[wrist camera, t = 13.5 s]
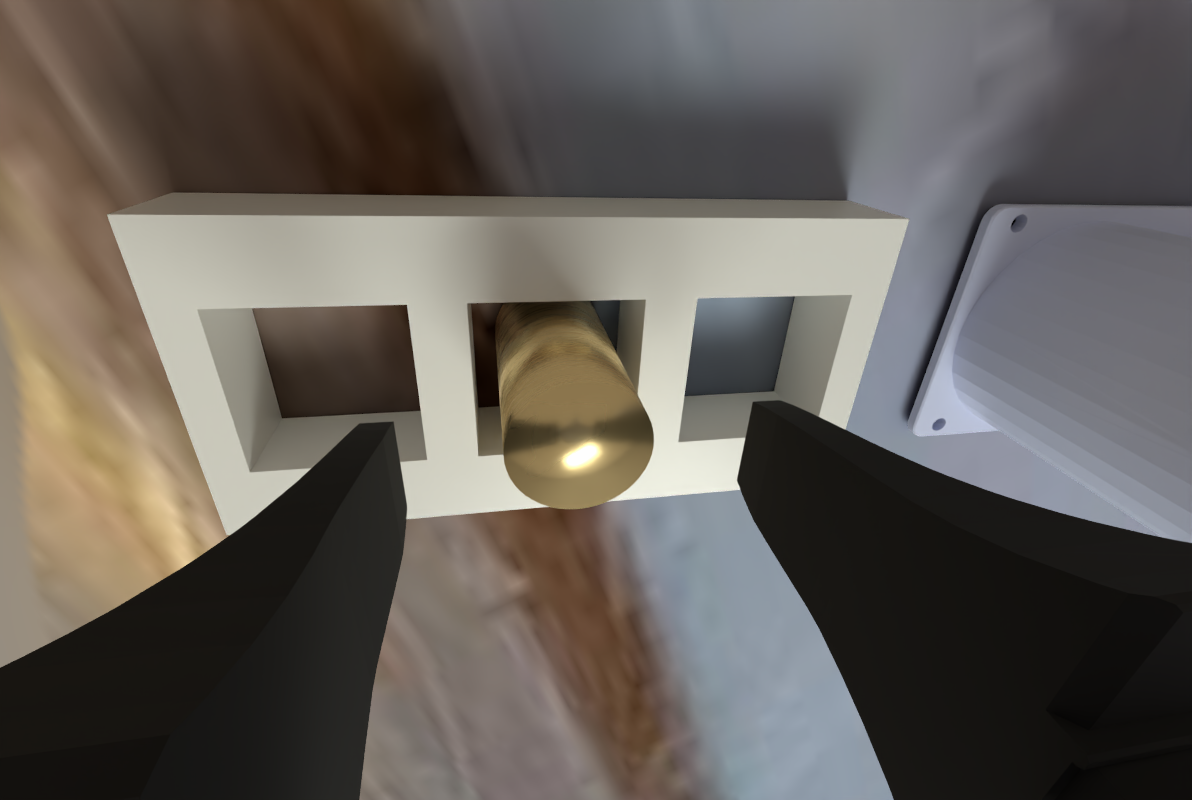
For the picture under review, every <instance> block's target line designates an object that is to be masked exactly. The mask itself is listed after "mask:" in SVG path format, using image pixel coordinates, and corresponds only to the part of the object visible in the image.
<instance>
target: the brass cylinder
mask: <svg viewBox="0 0 1192 800" xmlns="http://www.w3.org/2000/svg"><path fill="white" fill-rule="evenodd" d="M495 341H496V355H497V370H498V384H499V398H500V412H501V427H502V441H503V455H504V464H505V467H506V471H507V473H508V475H509V477H510V479H511V481H512V482H513V484H514V485H515V486H516V487H517V488H518V489H519V491H521V492H522V493H523V494H524V495H525V496H527V497H529V498H530V499H532V500H533V501H536V502H538V503H540V504H543V505H546V506H549V507H554V508H559V509H581V508H587V507H592V506H596V505H599V504H602V503H605V502H607V501H609V500H611V499H613V498H615V497H617V496H619V495H620V494H622V493H623V492H624V491H626V490H627V489H628V488H630V487H631V486H632V485H633V484H634V483H635V482H636V481H637V480H638V479H639V477H640V476H641V475H642V473H643V472H644V471H645V469H646V467H647V465H648V463H649V461H650V458H651V456H652V451H653V447H654V432H653V427H652V423H651V421H650V418H649V416H648V414H647V412H646V410H645V408H644V406H643V404H642V402H641V400H640V398H639V396H638V394H637V392H636V390H635V388H634V386H633V384H632V382H631V380H630V378H629V376H628V374H627V372H626V370H625V368H624V367H623V365H622V363H621V361H620V359H619V357H618V355H617V353H616V351H615V349H614V347H613V345H612V343H611V341H610V339H609V337H608V335H607V333H606V331H605V329H604V327H603V325H602V323H601V321H600V319H599V317H598V315H597V313H596V311H595V309H594V307H593V305H592V304H591V302H590V301H551V302H506V303H504V304H503V305H502V307H501V309H500V311H499V313H498V316H497V319H496V324H495Z"/></svg>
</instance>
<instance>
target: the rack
mask: <svg viewBox="0 0 1192 800" xmlns="http://www.w3.org/2000/svg"><path fill="white" fill-rule="evenodd" d="M107 216H108V219H109V222H110V224H111V227H112V230H113V232H114V235H115V238H116V240H117V243H118V246H119V248H120V251H121V254H122V256H123V259H124V262H125V264H126V267H127V270H128V272H129V275H130V278H131V280H132V283H133V286H134V288H135V291H136V294H137V296H138V299H139V302H140V304H141V307H142V310H143V312H144V315H145V318H146V320H147V323H148V326H149V328H150V331H151V334H152V336H153V339H154V342H155V345H156V347H157V350H158V353H159V355H160V358H161V361H162V363H163V366H164V369H165V371H166V374H167V377H168V379H169V382H170V385H171V387H172V390H173V393H174V395H175V398H176V401H177V403H178V406H179V409H180V411H181V414H182V417H183V419H184V422H185V425H186V427H187V430H188V433H189V435H190V438H191V441H192V443H193V446H194V449H195V451H196V454H197V457H198V459H199V462H200V465H201V467H202V470H203V473H204V475H205V478H206V481H207V484H208V486H209V489H210V492H211V494H212V497H213V500H214V502H215V505H216V508H217V510H218V513H219V516H220V518H221V521H222V524H223V526H224V529H225V532H226V534H227V535H231V534H233V533H234V532H235V531H237V530H238V529H239V528H241V527H242V526H243V525H245V524H246V523H247V522H249V521H250V520H251V519H252V518H254V517H255V516H256V515H257V514H259V513H260V512H261V511H262V510H263V509H265V508H266V507H267V506H268V505H269V504H271V503H272V502H273V501H274V500H275V499H277V498H278V497H279V496H280V495H281V494H283V493H284V492H285V491H286V490H288V489H289V488H290V487H291V486H292V485H294V484H295V483H296V482H297V481H298V480H299V479H300V478H301V477H302V476H304V475H305V474H306V473H307V472H308V471H309V470H310V469H311V468H312V467H313V466H314V465H315V464H317V463H318V462H319V461H320V460H321V459H322V458H323V457H324V456H325V455H326V454H327V453H328V452H329V451H330V450H332V449H333V448H334V447H335V446H336V445H337V444H338V443H339V442H340V441H341V440H342V439H343V438H344V437H345V436H346V435H347V434H348V433H349V432H350V431H351V430H352V429H354V428H355V427H356V426H357V425H358V424H359V423H375V422H393V421H394V427H395V433H396V439H397V446H398V452H399V458H400V464H401V471H402V477H403V483H404V489H405V496H406V502H407V517H406V519H414V518H425V517H437V516H448V515H459V514H470V513H482V512H493V511H504V510H516V509H527V508H538V507H549V506H546V505H543V504H540V503H538V502H536V501H533V500H532V499H530V498H529V497H527V496H525V495H524V494H523V493H522V492H521V491H519V489H518V488H517V487H516V486H515V485H514V484H513V482H512V481H511V479H510V477H509V475H508V473H507V471H506V467H505V464H504V455H503V441H502V427H501V412H500V406H499V407H480V408H478V394H477V380H476V366H475V353H474V339H473V325H472V311H471V303H506V302H551V301H597V300H620V308H619V323H618V339H617V355H618V357H619V359H620V361H621V363H622V365H623V367H624V368H625V370H626V372H627V374H628V376H629V378H630V380H631V382H632V384H633V386H634V388H635V390H636V392H637V394H638V396H639V398H640V400H641V402H642V404H643V406H644V408H645V410H646V412H647V414H648V416H649V418H650V421H651V423H652V427H653V432H654V447H653V451H652V456H651V458H650V461H649V463H648V465H647V467H646V469H645V471H644V472H643V473H642V475H641V476H640V477H639V479H638V480H637V481H636V482H635V483H634V484H633V485H632V486H631V487H630V488H628V489H627V490H626V491H624V492H623V493H622V494H620V495H619V496H617V497H615V498H613V499H611V500H609V501H617V500H629V499H640V498H651V497H663V496H674V495H685V494H696V493H708V492H719V491H730V490H740V487H739V485H738V482H737V477H738V472H739V467H740V462H741V457H742V452H743V447H744V442H745V437H746V432H747V427H748V423H749V418H750V413H751V408H752V403H753V402H755V401H773V400H781V401H784V402H787V403H789V404H792V405H794V406H797V407H799V408H801V409H803V410H806V411H808V412H810V413H812V414H814V415H816V416H818V417H820V418H822V419H824V420H826V421H828V422H831V423H833V424H835V425H837V426H839V427H841V428H843V429H846V426H847V423H848V419H849V416H850V413H851V409H852V406H853V403H854V400H855V396H856V393H857V390H858V386H859V383H860V380H861V377H862V373H863V370H864V367H865V363H866V360H867V357H868V354H869V350H870V347H871V344H872V340H873V337H874V334H875V331H876V327H877V324H878V321H879V317H880V314H881V311H882V308H883V304H884V301H885V298H886V294H887V291H888V288H889V285H890V281H891V278H892V275H893V271H894V268H895V265H896V262H897V258H898V255H899V252H900V248H901V245H902V242H903V239H904V235H905V232H906V229H907V225H908V222H909V219H908V218H905V217H901V216H898V215H895V214H891V213H888V212H885V211H881V210H878V209H875V208H871V207H868V206H865V205H861V204H858V203H855V202H851V201H839V200H755V199H672V198H589V197H505V196H422V195H339V194H256V193H169V194H166V195H163V196H160V197H157V198H155V199H152V200H149V201H146V202H143V203H140V204H137V205H134V206H131V207H128V208H125V209H122V210H119V211H116V212H113V213H110V214H107ZM779 296H795V299H794V303H793V308H792V312H791V317H790V321H789V326H788V330H787V335H786V339H785V344H784V349H783V353H782V358H781V362H780V367H779V371H778V376H777V380H776V385H775V389H774V391H771V392H753V393H734V394H716V395H698V396H684V395H685V388H686V380H687V373H688V365H689V358H690V350H691V343H692V336H693V328H694V321H695V313H696V306H697V298H734V297H779ZM369 305H407V309H408V316H409V324H410V332H411V339H412V347H413V355H414V362H415V370H416V378H417V385H418V393H419V401H420V408H421V411H408V412H390V413H371V414H353V415H335V416H317V417H299V418H282V416H281V413H280V409H279V405H278V402H277V398H276V394H275V391H274V387H273V383H272V380H271V376H270V372H269V369H268V365H267V361H266V358H265V354H264V351H263V347H262V343H261V340H260V336H259V332H258V329H257V325H256V321H255V318H254V314H253V310H252V308H278V307H323V306H369Z"/></svg>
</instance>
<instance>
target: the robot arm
mask: <svg viewBox="0 0 1192 800" xmlns="http://www.w3.org/2000/svg"><path fill="white" fill-rule="evenodd" d="M1015 218H1016V221H1015V223H1014V224H1013V226H1012V227H1011V224H1012V222H1013V220H1014V219H1015ZM935 421H936V422H935ZM907 426H908V429H909V430H910V431H911V432H913V433H914V434H915V435H917V436H934V435H947V434H960V433H974V432H987V431H1000V432H1002V433H1003V434H1005V435H1006V436H1008V437H1009V438H1011V439H1012V440H1014V441H1015V442H1017V443H1019V444H1020V445H1022V446H1023V447H1025V448H1026V449H1028V450H1029V451H1031V452H1032V453H1034V454H1035V455H1037V456H1038V457H1040V458H1041V459H1043V460H1044V461H1046V462H1047V463H1049V464H1051V465H1052V466H1054V467H1055V468H1057V469H1058V470H1060V471H1061V472H1063V473H1064V474H1066V475H1067V476H1069V477H1070V478H1072V479H1073V480H1075V481H1076V482H1078V483H1080V484H1081V485H1083V486H1084V487H1086V488H1087V489H1089V490H1090V491H1092V492H1093V493H1095V494H1096V495H1098V496H1099V497H1101V498H1102V499H1104V500H1105V501H1107V502H1108V503H1110V504H1112V505H1113V506H1115V507H1116V508H1118V509H1119V510H1121V511H1122V512H1124V513H1125V514H1127V515H1128V516H1130V517H1131V518H1133V519H1134V520H1136V521H1137V522H1139V523H1140V524H1142V525H1144V526H1145V527H1147V528H1148V529H1150V530H1151V531H1153V532H1154V533H1156V534H1157V535H1159V536H1160V537H1157V536H1152V535H1148V534H1143V533H1139V532H1135V531H1130V530H1126V529H1122V528H1118V527H1113V526H1109V525H1105V524H1101V523H1096V522H1092V521H1088V520H1085V519H1081V518H1077V517H1073V516H1069V515H1066V514H1062V513H1058V512H1055V511H1052V510H1048V509H1045V508H1041V507H1038V506H1035V505H1031V504H1028V503H1025V502H1021V501H1018V500H1015V499H1011V498H1008V497H1005V496H1002V495H999V494H996V493H993V492H990V491H987V490H985V489H982V488H979V487H976V486H974V485H971V484H968V483H965V482H963V481H960V480H957V479H955V478H952V477H949V476H947V475H944V474H942V473H939V472H937V471H934V470H932V469H929V468H927V467H925V466H922V465H920V464H918V463H915V462H913V461H911V460H909V459H906V458H904V457H902V456H899V455H897V454H895V453H893V452H891V451H888V450H886V449H884V448H882V447H880V446H878V445H876V444H873V443H871V442H869V441H867V440H865V439H863V438H861V437H859V436H857V435H855V434H853V433H851V432H849V431H847V430H845V429H843V428H841V427H839V426H837V425H835V424H833V423H831V422H828V421H826V420H824V419H822V418H820V417H818V416H816V415H814V414H812V413H810V412H808V411H806V410H803V409H801V408H799V407H797V406H794V405H792V404H789V403H787V402H784V401H781V400H773V401H755V402H753V403H752V408H751V413H750V418H749V423H748V427H747V432H746V437H745V442H744V447H743V452H742V457H741V462H740V467H739V472H738V477H737V482H738V485H739V487H740V490H741V492H742V495H743V497H744V500H745V502H746V504H747V506H748V509H749V511H750V513H751V515H752V518H753V520H754V522H755V523H756V525H757V527H758V528H759V530H760V532H761V533H762V535H763V537H764V538H765V540H766V542H767V543H768V545H769V547H770V548H771V550H772V552H773V553H774V555H775V556H776V558H777V560H778V561H779V563H780V564H781V566H782V568H783V569H784V571H785V572H786V574H787V576H788V577H789V579H790V580H791V582H792V584H793V585H794V587H795V589H796V590H797V592H798V593H799V595H800V597H801V598H802V600H803V601H804V603H805V605H806V606H807V608H808V610H809V611H810V613H811V615H812V617H813V619H814V620H815V622H816V624H817V626H818V627H819V629H820V631H821V633H822V635H823V637H824V640H825V642H826V644H827V646H828V648H829V650H830V652H831V654H832V656H833V658H834V660H835V662H836V664H837V666H838V669H839V671H840V673H841V675H842V677H843V679H844V681H845V684H846V686H847V688H848V690H849V693H850V695H851V697H852V699H853V702H854V704H855V706H856V708H857V711H858V713H859V715H860V717H861V719H862V722H863V724H864V726H865V729H866V731H867V734H868V736H869V739H870V741H871V743H872V746H873V748H874V751H875V753H876V756H877V758H878V761H879V763H880V765H881V768H882V770H883V773H884V775H885V778H886V780H887V783H888V785H889V788H890V790H891V793H892V796H893V798H894V800H1192V206H1145V205H1058V204H999V205H995V206H994V207H992V208H991V209H989V210H988V211H987V213H986V214H985V215H984V217H983V219H982V220H981V223H980V226H979V228H978V231H977V234H976V237H975V239H974V242H973V245H972V247H971V250H970V253H969V256H968V258H967V261H966V264H965V267H964V269H963V272H962V275H961V278H960V280H959V283H958V286H957V288H956V291H955V294H954V297H953V299H952V302H951V305H950V308H949V310H948V313H947V316H946V319H945V321H944V324H943V327H942V329H941V332H940V335H939V338H938V340H937V343H936V346H935V349H934V351H933V354H932V357H931V360H930V362H929V365H928V368H927V370H926V373H925V376H924V379H923V381H922V384H921V387H920V390H919V392H918V395H917V398H916V401H915V403H914V406H913V409H912V411H911V414H910V417H909V420H908V424H907ZM406 517H407V502H406V496H405V489H404V483H403V477H402V471H401V464H400V458H399V452H398V446H397V439H396V433H395V427H394V421H393V422H375V423H359V424H358V425H357V426H356V427H355V428H354V429H352V430H351V431H350V432H349V433H348V434H347V435H346V436H345V437H344V438H343V439H342V440H341V441H340V442H339V443H338V444H337V445H336V446H335V447H334V448H333V449H332V450H330V451H329V452H328V453H327V454H326V455H325V456H324V457H323V458H322V459H321V460H320V461H319V462H318V463H317V464H315V465H314V466H313V467H312V468H311V469H310V470H309V471H308V472H307V473H306V474H305V475H304V476H302V477H301V478H300V479H299V480H298V481H297V482H296V483H295V484H294V485H292V486H291V487H290V488H289V489H288V490H286V491H285V492H284V493H283V494H281V495H280V496H279V497H278V498H277V499H275V500H274V501H273V502H272V503H271V504H269V505H268V506H267V507H266V508H265V509H263V510H262V511H261V512H260V513H259V514H257V515H256V516H255V517H254V518H252V519H251V520H250V521H249V522H247V523H246V524H245V525H243V526H242V527H241V528H239V529H238V530H237V531H235V532H234V533H233V534H231V535H230V536H228V537H227V538H226V539H224V540H223V541H221V542H220V543H218V544H217V545H216V546H214V547H213V548H211V549H210V550H208V551H207V552H205V553H204V554H202V555H201V556H200V557H198V558H197V559H195V560H194V561H192V562H191V563H189V564H188V565H186V566H184V567H183V568H181V569H180V570H178V571H176V572H175V573H173V574H171V575H170V576H168V577H166V578H165V579H163V580H161V581H160V582H158V583H156V584H155V585H153V586H151V587H150V588H148V589H146V590H145V591H143V592H141V593H140V594H138V595H136V596H135V597H133V598H131V599H130V600H128V601H126V602H125V603H123V604H121V605H120V606H118V607H116V608H115V609H113V610H111V611H109V612H107V613H106V614H104V615H102V616H100V617H98V618H96V619H95V620H93V621H91V622H89V623H87V624H85V625H83V626H82V627H80V628H78V629H76V630H74V631H72V632H70V633H69V634H67V635H65V636H63V637H61V638H59V639H57V640H55V641H53V642H51V643H49V644H47V645H45V646H43V647H41V648H39V649H37V650H35V651H33V652H31V653H29V654H27V655H25V656H24V657H22V658H20V659H17V660H15V661H13V662H11V663H9V664H7V665H5V666H3V667H1V668H0V800H359V796H360V788H361V779H362V770H363V762H364V753H365V744H366V737H367V729H368V721H369V713H370V706H371V698H372V690H373V684H374V679H375V674H376V669H377V663H378V659H379V655H380V650H381V646H382V642H383V638H384V633H385V629H386V625H387V621H388V616H389V612H390V608H391V604H392V599H393V595H394V591H395V587H396V582H397V578H398V573H399V569H400V565H401V560H402V556H403V548H404V539H405V528H406Z"/></svg>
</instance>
